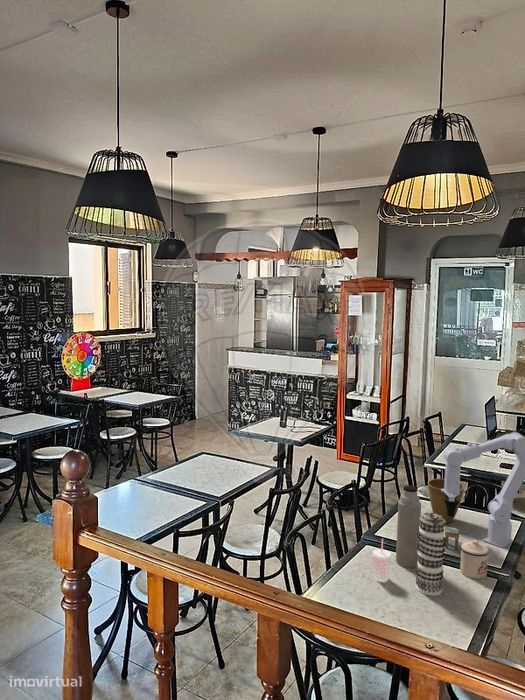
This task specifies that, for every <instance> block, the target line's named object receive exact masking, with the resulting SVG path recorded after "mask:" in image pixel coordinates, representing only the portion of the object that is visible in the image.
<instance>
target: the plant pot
mask: <svg viewBox="0 0 525 700" xmlns="http://www.w3.org/2000/svg"><path fill="white" fill-rule="evenodd" d="M444 483H445V478H432V479H429V480H428V482H427V485H428V486H427V489H428V494H429V495H428V496H429V502H430V506H431V510H432V513H437V514H439V515H441V516H442V518H443V519H444V520H445V523H444V524H450V523H453V521H454V519H455V518H456V515H457V513H458V510H459V507H460V505H461V502H462V498H463V494H464V490H465V486H464V485H463V484H462V483H461V482H460V488H459V491H460V494H459V495H458V496H457V498H456V500H458V501H459V504H458V505H457V507H456V510H455V514H454V517H449V516H448V514H447V507H446V504H445V502H444V498H446V496H445V494H444V492H441V489H444Z"/></svg>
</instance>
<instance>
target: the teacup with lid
mask: <svg viewBox="0 0 525 700" xmlns="http://www.w3.org/2000/svg"><path fill="white" fill-rule="evenodd" d="M462 543H463V544H462V545H461V556H460V566H459V567H460V568H459V571H460V572H461V574H462V575H464V576H466V577H468V578H471V579H480V580H481V579H484V578H486V577H487V573H488V559H489V558H488V557H489V554H490V551H489V549H488V547H487V546H485V545H484V544H481V543H479V541H478V540H476V539H473V540H471V541H469V542H468V541H467V542H462Z"/></svg>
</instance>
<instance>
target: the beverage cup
mask: <svg viewBox="0 0 525 700" xmlns="http://www.w3.org/2000/svg"><path fill="white" fill-rule="evenodd" d="M372 556H373V578H374V580H375V581H376V582H379V583H385V582H387V581H388V580H389V571H390V564H391V563H390V562H391V557H392V553H391V552H390V551H389V550H386V549H384V538H381V548H378V549H377V548H376V549H374V550H373V551H372Z"/></svg>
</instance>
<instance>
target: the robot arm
mask: <svg viewBox="0 0 525 700" xmlns="http://www.w3.org/2000/svg"><path fill="white" fill-rule="evenodd" d="M499 449H505V450H509V451H513V452H514V454H515V457H516V459H517V460H516V461H515V463H514V465H513V466H512V469H511V471H510V472H509V475H508V476H507V478H506V480H505V482H504V484H503V486H502V488H501V490H500V492H499V493H498V494H496V495H495V497H494V498H493V499H492V500H491V501H489V503H488V505H487V510H488V511H489V513H490V514H489V516H488V530H487V537H485V538H484V539H483V542H486V543H489V544H491V545H494V546H497V547H501V548H505V547H507V545H509V544H511V543H513V542H514V539H512V529H513V527H512V526H513V525H512V521H511V518H512V511H513V509H514V506H513V505H514V503H513V502H514V499H515V497H516V496H517V494H518V491H519V489H520V488H521V486H522V484H523V482H524V481H525V436H523V435H522V434H521V433H520V432H515V431H513V432H510V433H506V434H505V433H504V434H503V435H502V436H500V437H496V438H494V439H491V440H488V441H485V442H483V443H481V444H476V443H471V442H467V444H466V445H463V446H461V447H458V446H457V447H455V449H454V448H450V449H447V450H446V452H445V453H444V455H443V457H444V460H445V467H444V479H445V483H444V489H441V492H444V494H445V496H446V498H444V502H445V504H446V507H447V514H448V516H449V517H454V514H455V510H456V507H457V505H458V504H459V501H458V500H456V498H457V496H458V495H459V494H460V491H459V488H460V483H461V465H462V464H463V463H465V462H469V461H471V460H472V461H473V460H475V459H478V458H480V457H481V455H482V454H484V453H488V452H491V451H495V450H499ZM454 518H455V517H454Z"/></svg>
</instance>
